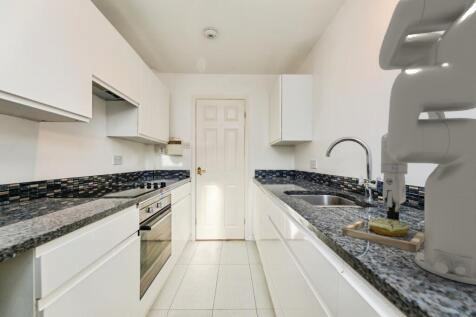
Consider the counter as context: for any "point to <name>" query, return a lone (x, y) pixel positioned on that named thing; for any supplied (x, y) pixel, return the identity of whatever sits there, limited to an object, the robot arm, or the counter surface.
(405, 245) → the wooden bay
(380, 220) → the yellow-green flat piece
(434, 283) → the counter surface
